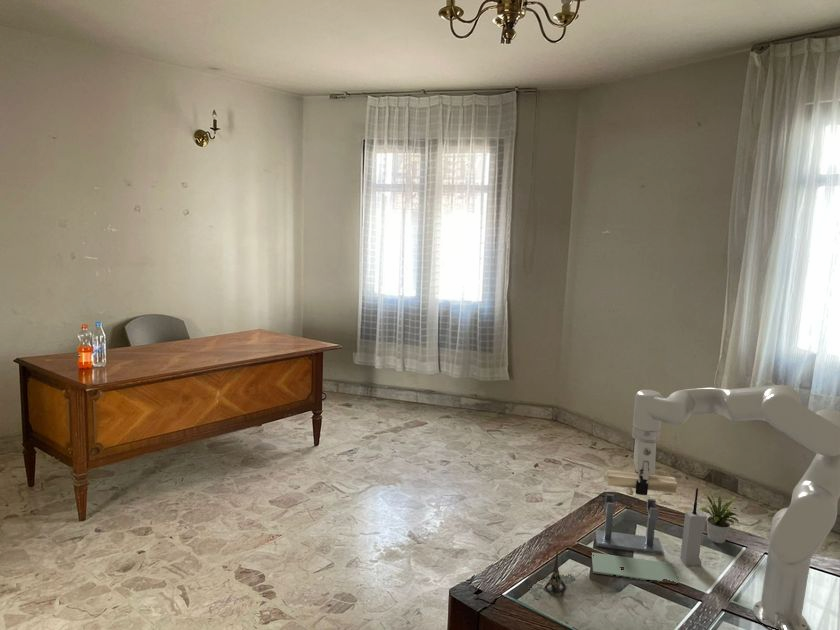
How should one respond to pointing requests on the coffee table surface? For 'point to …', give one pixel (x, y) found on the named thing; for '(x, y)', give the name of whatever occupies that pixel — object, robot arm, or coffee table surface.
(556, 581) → the eiffel tower figurine
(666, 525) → the coffee table surface
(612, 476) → the maple rail
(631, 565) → the rubber mat
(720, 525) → the house plant
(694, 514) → the vintage mobile phone
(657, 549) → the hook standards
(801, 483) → the robot arm
